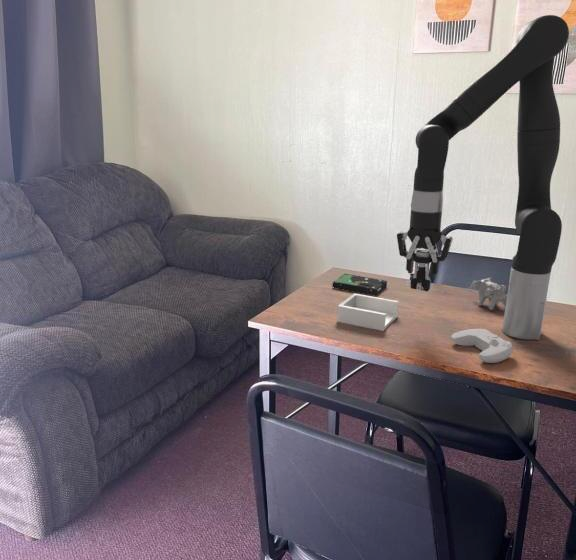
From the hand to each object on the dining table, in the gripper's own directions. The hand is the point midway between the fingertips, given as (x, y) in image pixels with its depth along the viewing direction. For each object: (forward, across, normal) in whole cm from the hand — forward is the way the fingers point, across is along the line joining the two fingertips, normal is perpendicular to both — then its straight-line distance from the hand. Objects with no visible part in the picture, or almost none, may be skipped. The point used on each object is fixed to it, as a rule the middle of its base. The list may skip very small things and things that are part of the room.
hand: (421, 273), depth 143 cm
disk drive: (+15, +25, -24) cm, 38 cm away
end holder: (+14, +13, +1) cm, 20 cm away
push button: (+4, +1, 0) cm, 4 cm away
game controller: (+15, -18, +7) cm, 25 cm away
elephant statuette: (+15, -13, -28) cm, 34 cm away
